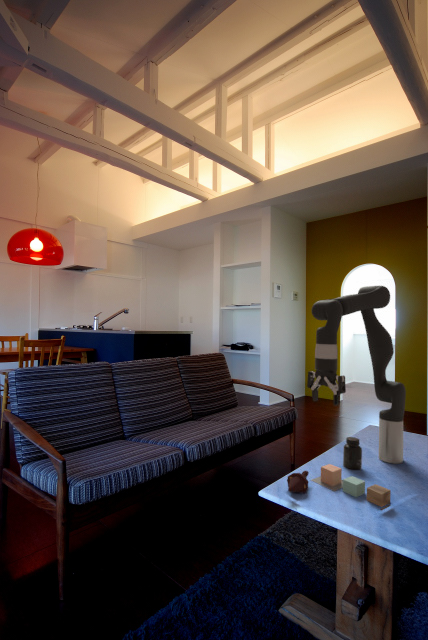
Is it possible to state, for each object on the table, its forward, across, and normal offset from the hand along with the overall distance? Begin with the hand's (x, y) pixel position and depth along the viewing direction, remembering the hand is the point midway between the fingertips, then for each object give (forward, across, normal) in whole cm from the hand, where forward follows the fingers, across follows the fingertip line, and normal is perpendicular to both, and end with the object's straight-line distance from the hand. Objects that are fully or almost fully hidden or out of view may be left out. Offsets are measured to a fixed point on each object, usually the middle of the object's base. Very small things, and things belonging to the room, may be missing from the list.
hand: (325, 403), depth 124 cm
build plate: (+29, -1, -3) cm, 29 cm away
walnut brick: (+29, -18, -4) cm, 34 cm away
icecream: (+29, +2, +12) cm, 32 cm away
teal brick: (+29, -10, -3) cm, 31 cm away
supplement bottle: (+29, +3, -22) cm, 37 cm away
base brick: (+28, -1, -3) cm, 28 cm away
